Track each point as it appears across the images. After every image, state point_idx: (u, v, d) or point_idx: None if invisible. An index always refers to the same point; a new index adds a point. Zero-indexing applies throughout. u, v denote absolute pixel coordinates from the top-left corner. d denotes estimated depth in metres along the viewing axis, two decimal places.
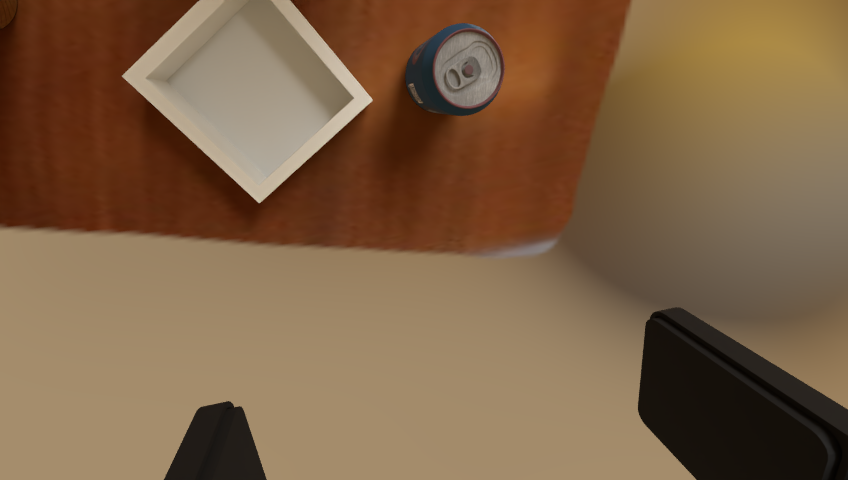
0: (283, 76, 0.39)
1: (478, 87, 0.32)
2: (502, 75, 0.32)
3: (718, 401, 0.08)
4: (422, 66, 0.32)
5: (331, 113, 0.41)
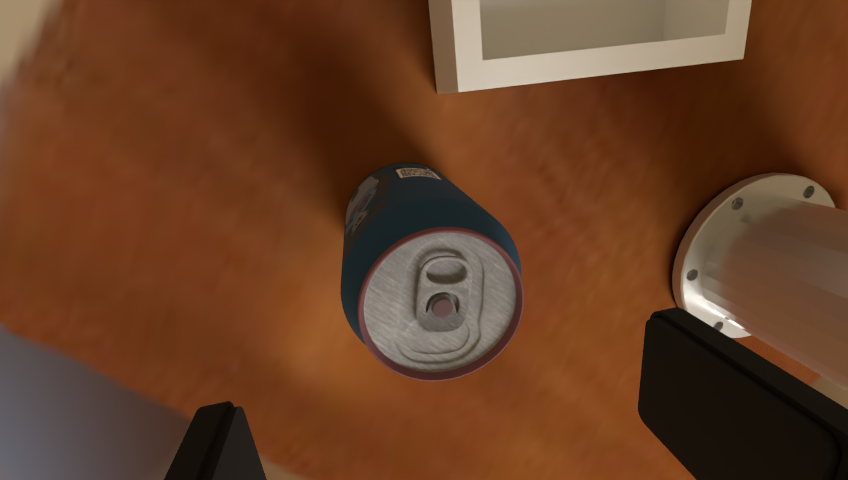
0: None
1: (397, 309, 0.14)
2: (391, 366, 0.14)
3: (718, 401, 0.08)
4: (492, 218, 0.15)
5: None
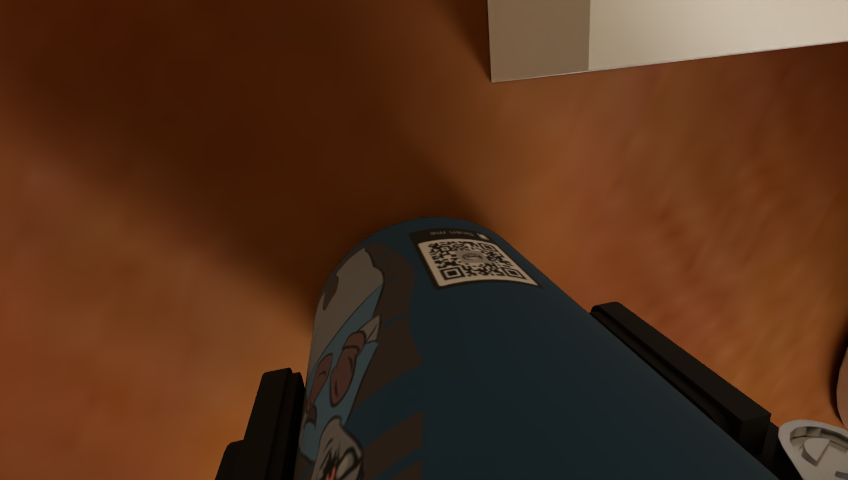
0: None
1: None
2: None
3: None
4: None
5: None
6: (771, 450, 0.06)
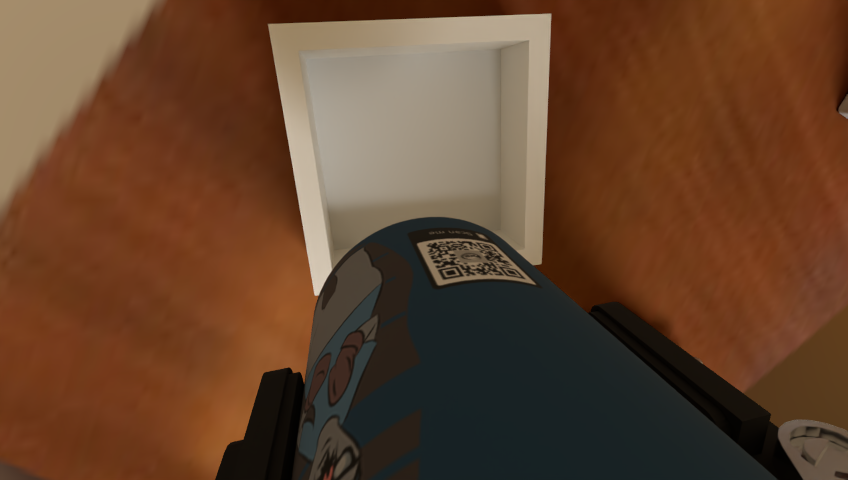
0: (412, 188, 0.27)
1: None
2: None
3: None
4: None
5: (333, 212, 0.27)
6: (771, 450, 0.06)
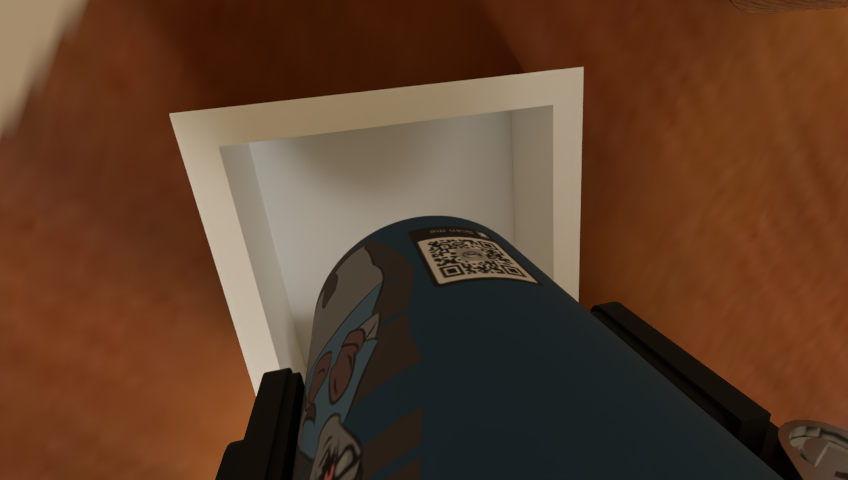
0: None
1: None
2: None
3: None
4: None
5: (300, 322, 0.21)
6: (771, 450, 0.06)
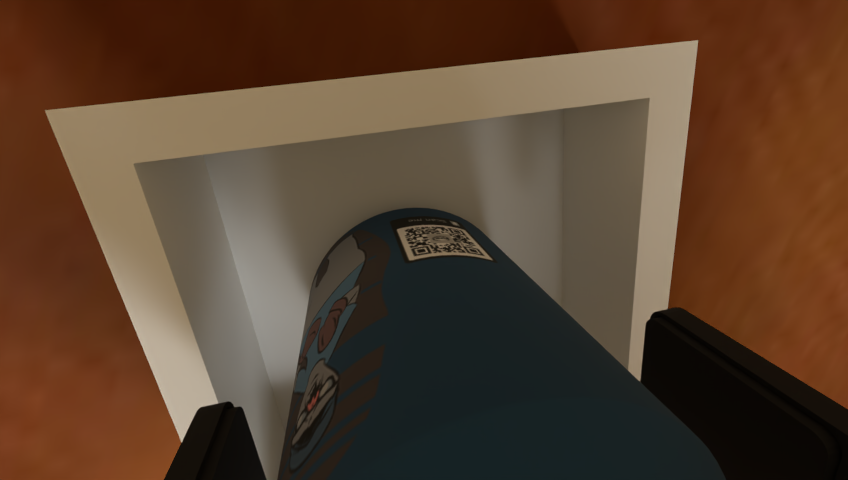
0: None
1: None
2: None
3: (718, 401, 0.08)
4: (687, 435, 0.05)
5: (281, 388, 0.16)
6: None
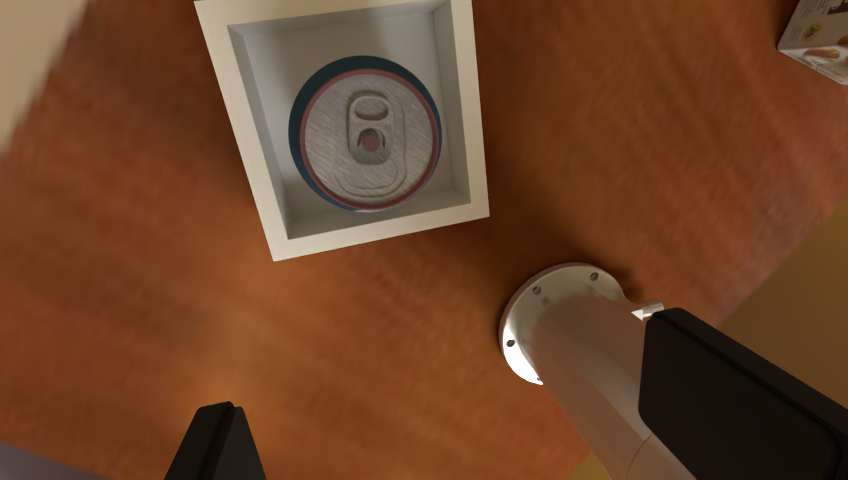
0: None
1: (333, 145, 0.17)
2: (332, 195, 0.17)
3: (718, 401, 0.08)
4: (411, 73, 0.18)
5: (288, 183, 0.28)
6: None
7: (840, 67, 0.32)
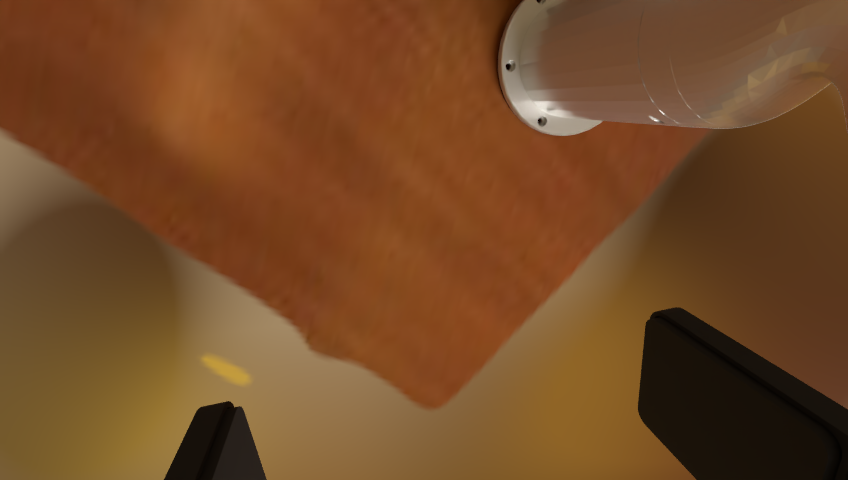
0: None
1: None
2: None
3: (718, 401, 0.08)
4: None
5: None
6: None
7: None
